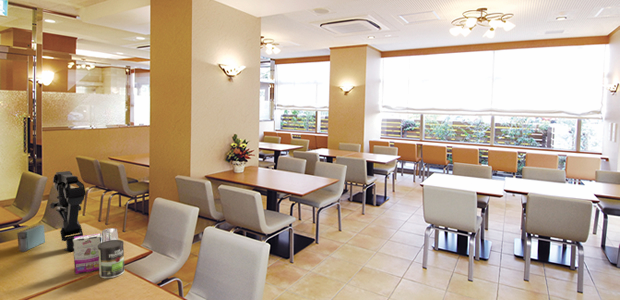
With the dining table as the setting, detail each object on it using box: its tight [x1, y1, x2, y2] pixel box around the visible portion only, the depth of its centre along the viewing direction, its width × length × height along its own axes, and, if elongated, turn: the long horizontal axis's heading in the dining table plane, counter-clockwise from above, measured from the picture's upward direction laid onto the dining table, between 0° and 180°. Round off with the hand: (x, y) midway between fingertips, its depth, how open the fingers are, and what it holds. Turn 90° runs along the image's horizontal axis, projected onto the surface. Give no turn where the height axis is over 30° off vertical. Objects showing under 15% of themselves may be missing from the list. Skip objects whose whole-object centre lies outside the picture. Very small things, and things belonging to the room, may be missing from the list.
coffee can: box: [98, 239, 126, 279], centre depth 161 cm, size 10×10×14 cm
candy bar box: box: [72, 232, 102, 275], centre depth 163 cm, size 11×5×16 cm, turn 117°
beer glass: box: [101, 227, 119, 242], centre depth 175 cm, size 7×7×15 cm
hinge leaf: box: [20, 224, 46, 253], centre depth 187 cm, size 2×13×10 cm, turn 174°
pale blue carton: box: [16, 224, 40, 252], centre depth 188 cm, size 4×14×10 cm, turn 174°
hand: (66, 221), depth 194 cm, fingers closed
